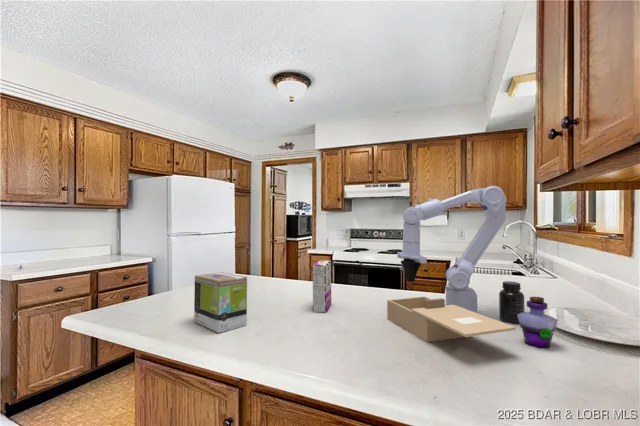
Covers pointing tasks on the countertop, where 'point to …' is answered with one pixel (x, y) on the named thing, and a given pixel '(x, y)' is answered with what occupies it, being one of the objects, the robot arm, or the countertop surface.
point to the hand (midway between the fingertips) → (410, 281)
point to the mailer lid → (460, 319)
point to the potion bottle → (537, 324)
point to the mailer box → (417, 320)
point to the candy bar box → (321, 286)
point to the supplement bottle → (510, 302)
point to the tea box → (220, 301)
